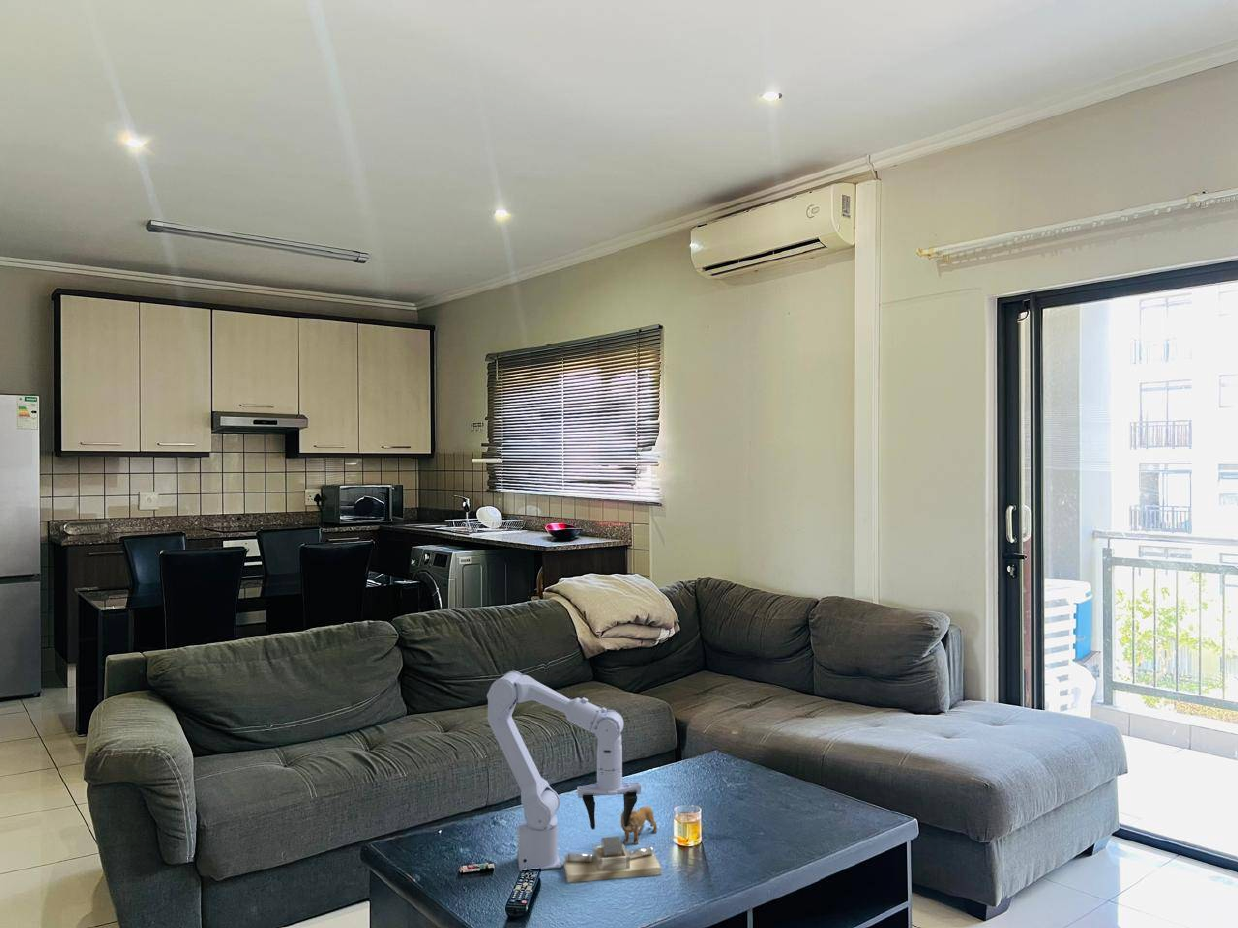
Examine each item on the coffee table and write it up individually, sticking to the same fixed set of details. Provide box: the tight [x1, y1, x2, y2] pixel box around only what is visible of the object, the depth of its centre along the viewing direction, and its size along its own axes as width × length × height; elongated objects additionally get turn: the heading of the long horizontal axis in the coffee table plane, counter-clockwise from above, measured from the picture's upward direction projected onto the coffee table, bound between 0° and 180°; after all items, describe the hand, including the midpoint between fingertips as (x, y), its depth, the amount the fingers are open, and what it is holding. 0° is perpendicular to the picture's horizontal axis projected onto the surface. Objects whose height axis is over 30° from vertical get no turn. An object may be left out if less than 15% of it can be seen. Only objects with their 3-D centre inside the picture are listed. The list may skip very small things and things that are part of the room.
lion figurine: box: [620, 806, 658, 845], centre depth 216 cm, size 15×5×9 cm, turn 152°
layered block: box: [600, 836, 623, 858], centre depth 199 cm, size 4×4×5 cm
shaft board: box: [562, 843, 662, 884], centre depth 199 cm, size 21×9×4 cm, turn 101°
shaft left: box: [563, 852, 594, 862], centre depth 199 cm, size 7×2×2 cm, turn 86°
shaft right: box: [627, 845, 655, 859], centre depth 202 cm, size 7×2×2 cm, turn 116°
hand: (609, 826), depth 200 cm, fingers open, 7 cm apart
